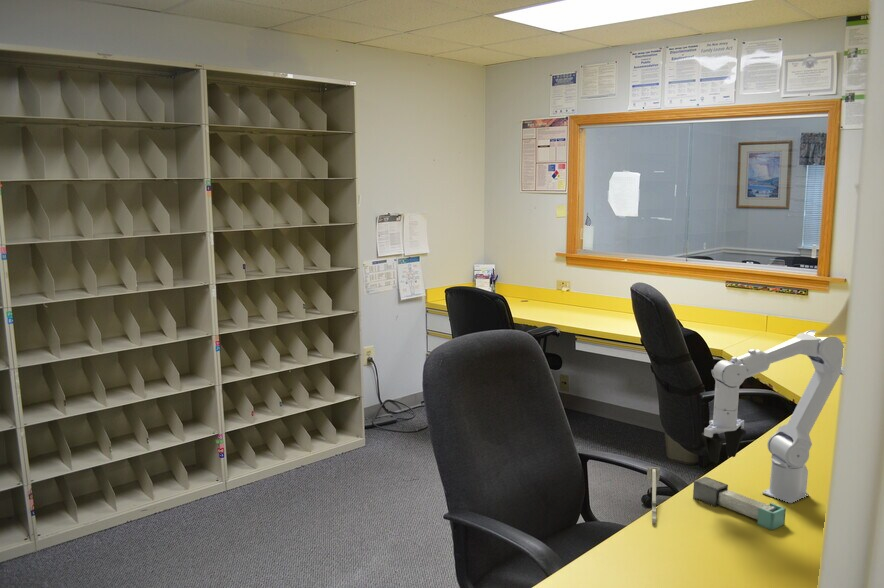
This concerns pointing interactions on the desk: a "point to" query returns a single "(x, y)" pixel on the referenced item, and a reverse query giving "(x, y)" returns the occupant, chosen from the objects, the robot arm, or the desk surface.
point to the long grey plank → (741, 503)
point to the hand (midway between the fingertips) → (722, 458)
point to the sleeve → (708, 490)
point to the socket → (771, 517)
